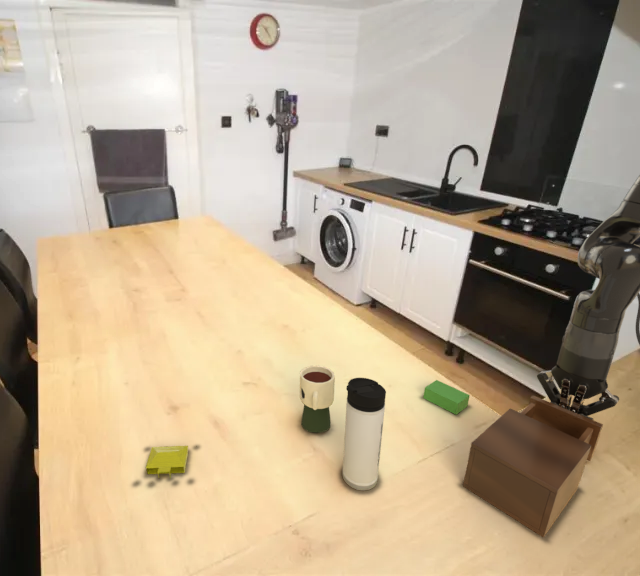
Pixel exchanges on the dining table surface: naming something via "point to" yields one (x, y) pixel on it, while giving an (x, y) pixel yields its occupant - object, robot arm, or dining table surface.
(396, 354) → the dining table surface
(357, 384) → the travel mug
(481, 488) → the cabinet
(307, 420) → the character mug
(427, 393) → the green block
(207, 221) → the dining table surface
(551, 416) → the drawer
